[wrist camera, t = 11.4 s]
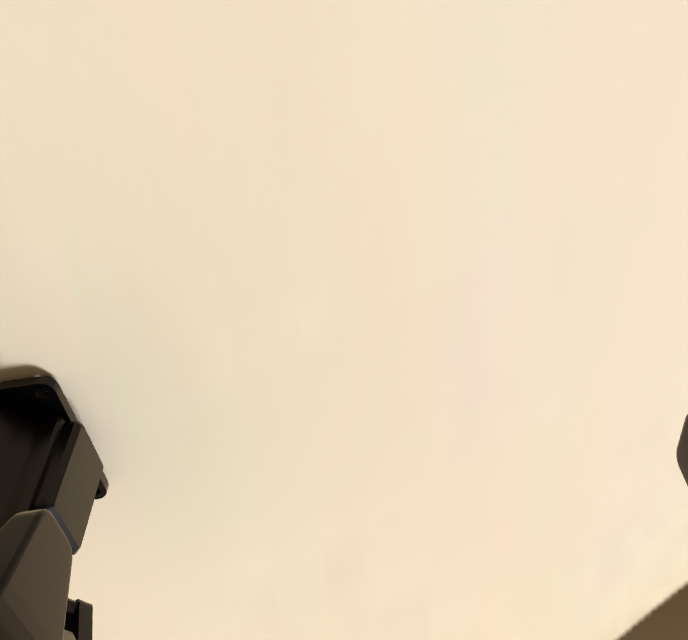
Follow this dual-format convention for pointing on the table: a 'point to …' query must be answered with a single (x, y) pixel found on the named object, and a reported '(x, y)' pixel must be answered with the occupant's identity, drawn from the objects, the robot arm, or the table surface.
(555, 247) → the table surface
